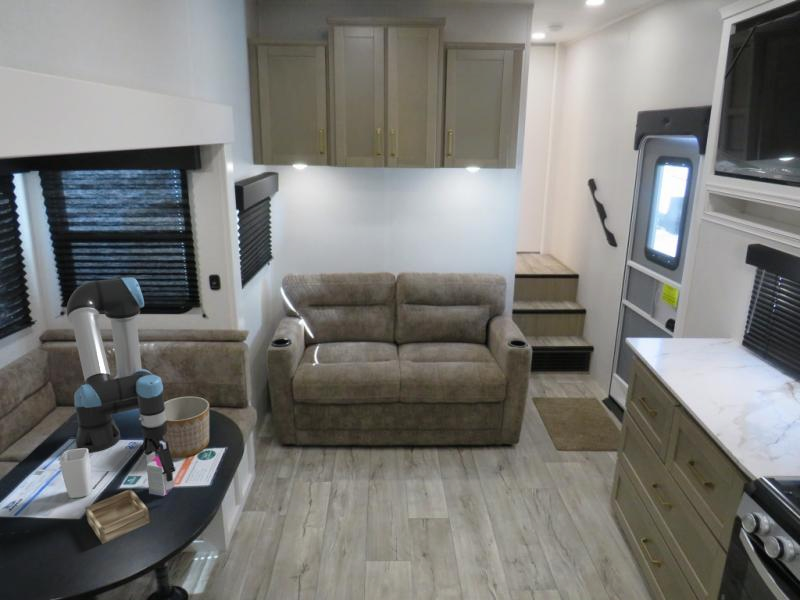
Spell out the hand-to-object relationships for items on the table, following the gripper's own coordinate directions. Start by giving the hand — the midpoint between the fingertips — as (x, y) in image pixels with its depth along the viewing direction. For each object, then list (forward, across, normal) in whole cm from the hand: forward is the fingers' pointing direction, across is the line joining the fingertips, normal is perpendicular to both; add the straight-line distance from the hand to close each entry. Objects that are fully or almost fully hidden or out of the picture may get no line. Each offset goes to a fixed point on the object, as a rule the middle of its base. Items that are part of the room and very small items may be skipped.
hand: (160, 479), depth 183 cm
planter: (+5, -21, +18) cm, 28 cm away
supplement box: (+5, 0, 0) cm, 5 cm away
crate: (+5, +6, -16) cm, 18 cm away
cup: (+5, -17, -20) cm, 27 cm away
